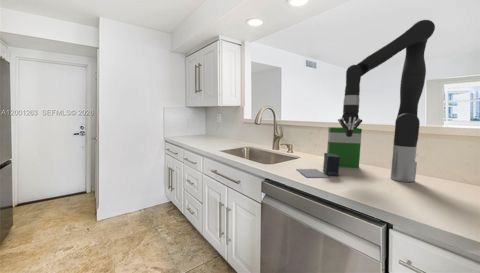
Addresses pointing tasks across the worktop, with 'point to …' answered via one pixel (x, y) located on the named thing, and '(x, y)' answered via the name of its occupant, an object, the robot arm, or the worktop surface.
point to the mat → (312, 173)
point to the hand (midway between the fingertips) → (348, 136)
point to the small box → (331, 164)
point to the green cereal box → (345, 146)
